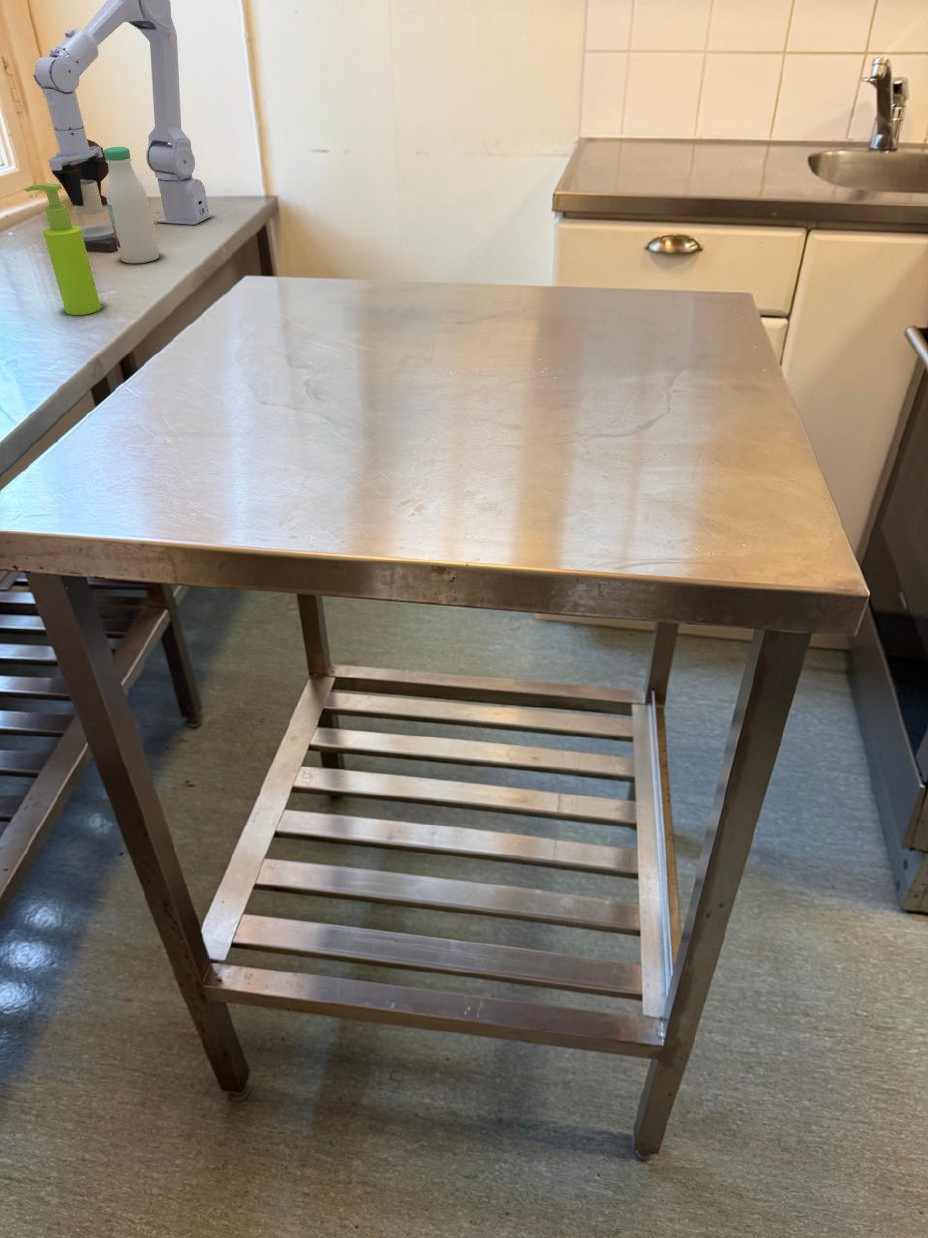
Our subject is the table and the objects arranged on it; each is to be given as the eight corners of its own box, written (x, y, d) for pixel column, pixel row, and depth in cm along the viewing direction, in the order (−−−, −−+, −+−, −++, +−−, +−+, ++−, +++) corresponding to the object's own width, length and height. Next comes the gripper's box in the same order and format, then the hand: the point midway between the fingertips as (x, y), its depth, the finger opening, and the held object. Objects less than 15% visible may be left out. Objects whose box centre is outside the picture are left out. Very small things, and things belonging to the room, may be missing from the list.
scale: (140, 238, 192) (137, 225, 191) (110, 252, 184) (107, 239, 182) (88, 234, 195) (85, 222, 194) (56, 248, 187) (53, 235, 185)
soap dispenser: (67, 303, 158) (33, 180, 146) (105, 303, 158) (74, 180, 146) (54, 314, 154) (17, 188, 141) (93, 314, 153) (60, 188, 141)
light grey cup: (108, 208, 188) (101, 180, 184) (92, 215, 184) (85, 185, 180) (85, 207, 189) (78, 178, 186) (69, 213, 185) (61, 184, 181)
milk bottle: (167, 254, 182) (145, 145, 170) (145, 265, 176) (120, 153, 164) (135, 251, 184) (111, 143, 172) (112, 262, 178) (85, 150, 166)
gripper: (74, 121, 183) (91, 192, 192) (28, 133, 172) (48, 208, 181) (103, 122, 182) (120, 194, 190) (59, 134, 171) (78, 210, 179)
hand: (87, 201), depth 185 cm, fingers closed on light grey cup, 5 cm apart
